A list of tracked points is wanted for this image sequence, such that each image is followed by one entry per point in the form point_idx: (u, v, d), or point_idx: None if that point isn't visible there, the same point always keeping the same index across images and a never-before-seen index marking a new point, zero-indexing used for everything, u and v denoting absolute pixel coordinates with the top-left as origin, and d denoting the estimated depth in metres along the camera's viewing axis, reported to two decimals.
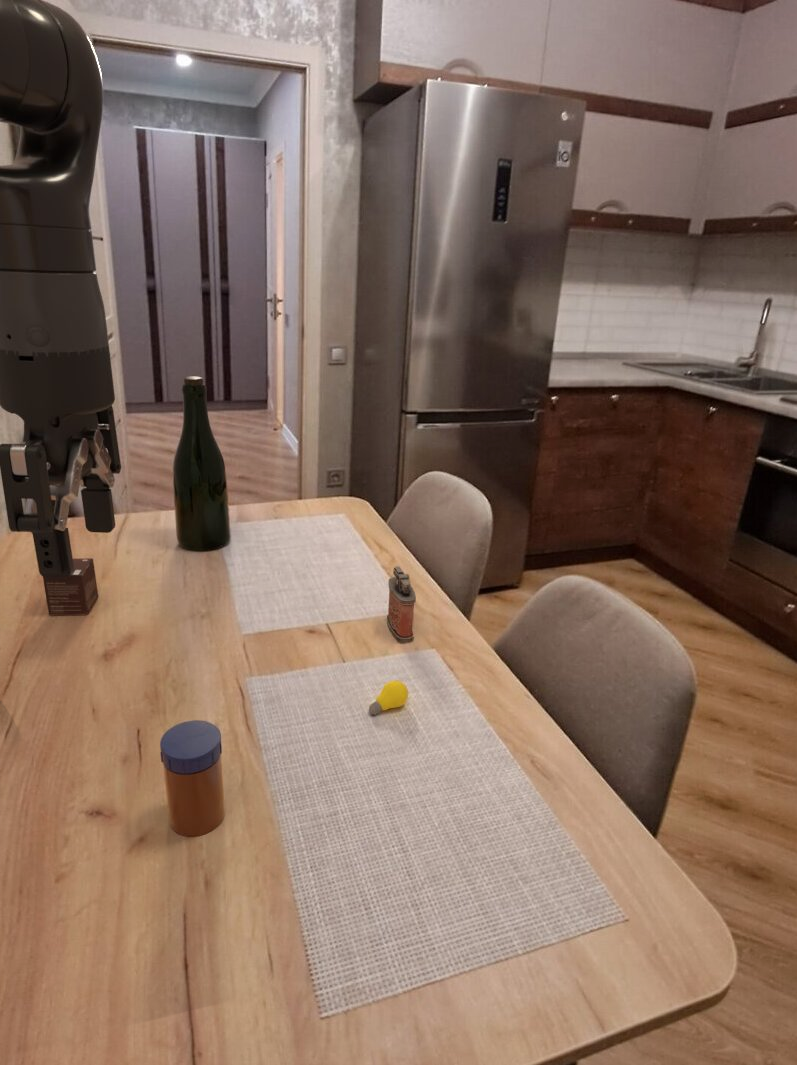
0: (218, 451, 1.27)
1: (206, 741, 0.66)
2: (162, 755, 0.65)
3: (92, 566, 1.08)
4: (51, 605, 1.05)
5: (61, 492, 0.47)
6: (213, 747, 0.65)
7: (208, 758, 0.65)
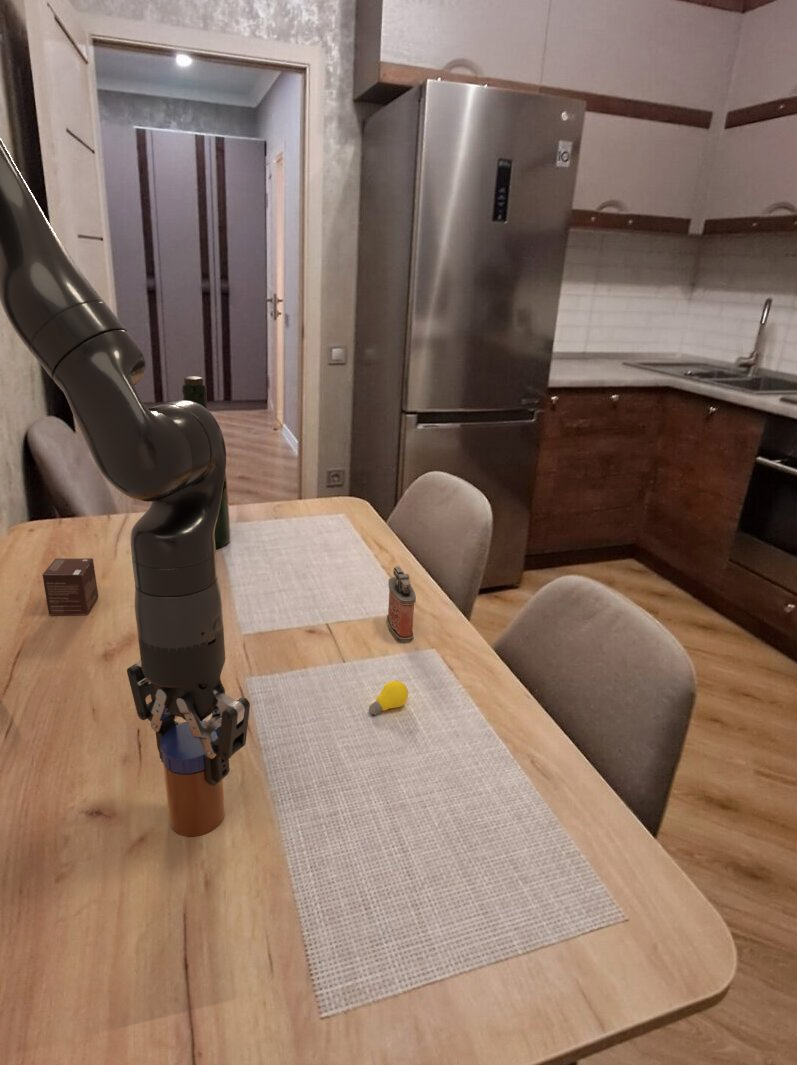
0: None
1: None
2: (162, 755, 0.65)
3: (92, 566, 1.08)
4: (51, 605, 1.05)
5: None
6: None
7: None
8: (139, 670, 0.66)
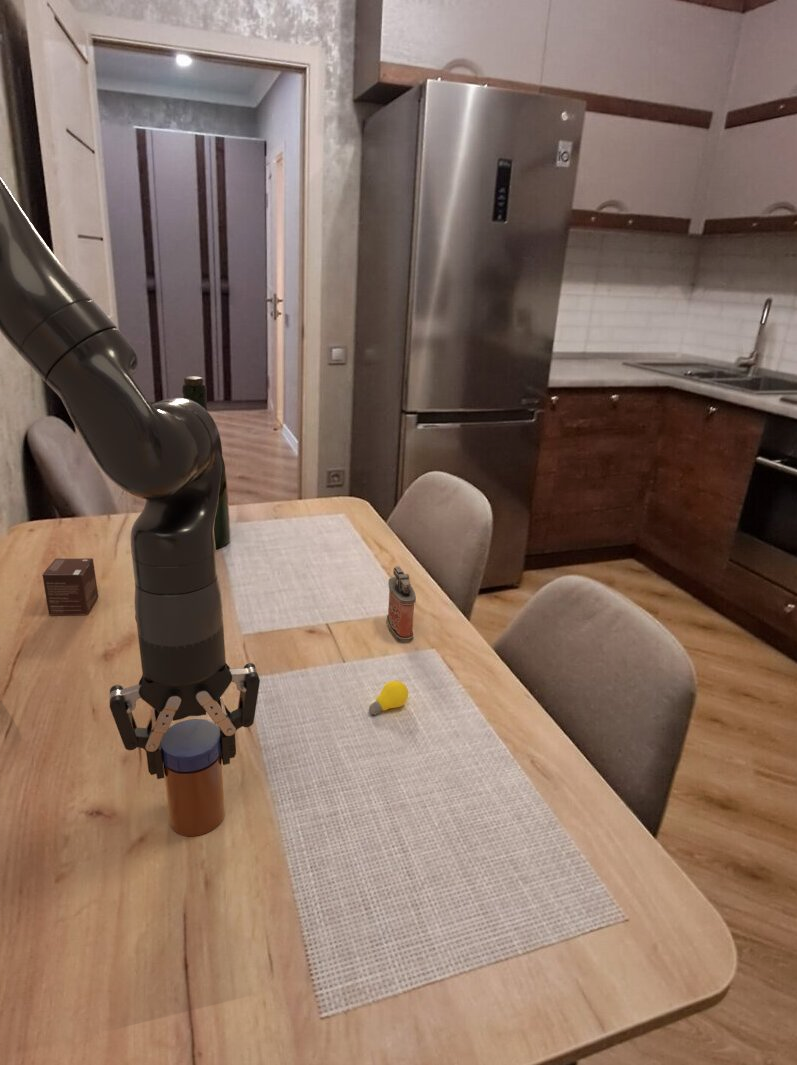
0: None
1: (206, 730, 0.67)
2: (181, 762, 0.64)
3: (92, 566, 1.08)
4: (51, 605, 1.05)
5: (222, 700, 0.67)
6: (218, 730, 0.67)
7: None
8: (122, 698, 0.61)
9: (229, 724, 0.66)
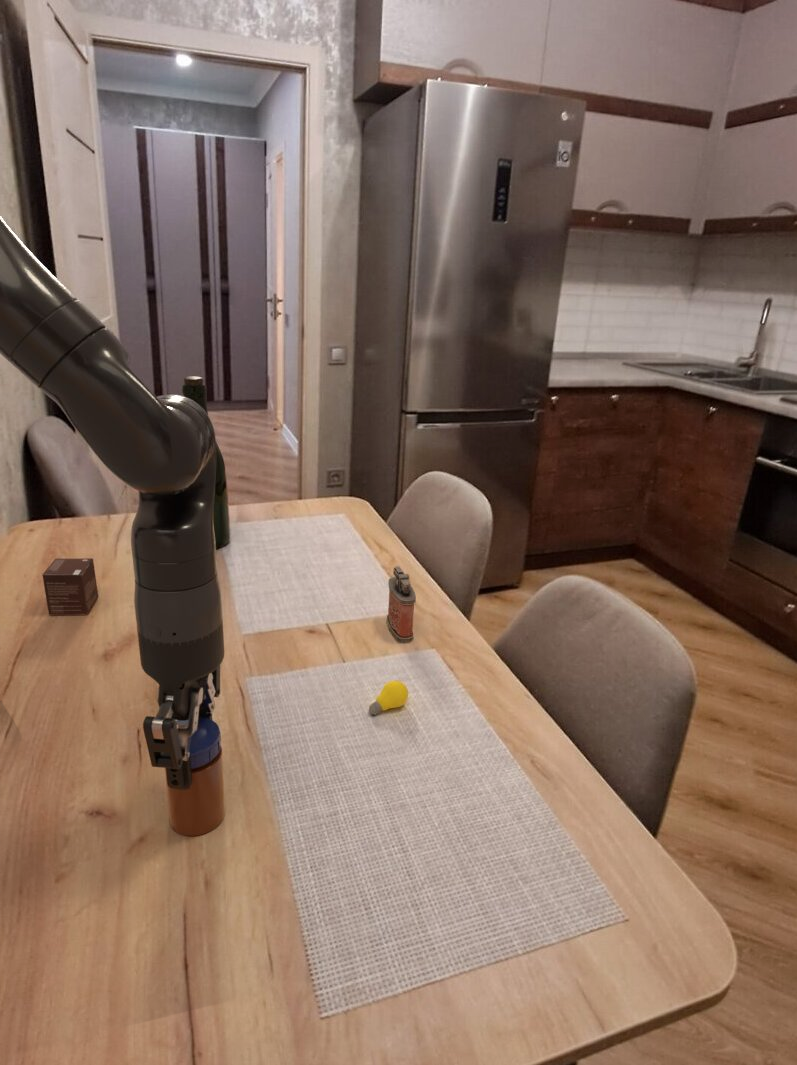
0: (218, 451, 1.27)
1: None
2: (212, 750, 0.65)
3: (92, 566, 1.08)
4: (51, 605, 1.05)
5: None
6: None
7: None
8: None
9: (212, 700, 0.69)
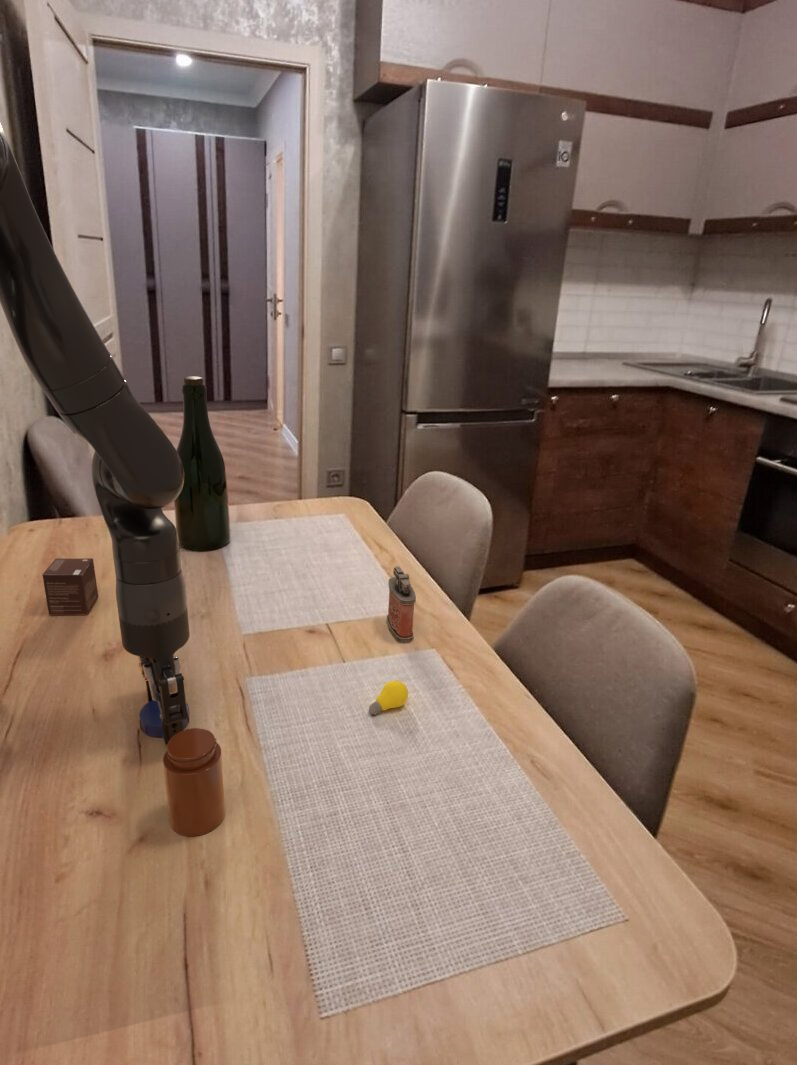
0: (218, 451, 1.27)
1: (156, 704, 0.84)
2: (188, 713, 0.83)
3: (92, 566, 1.08)
4: (51, 605, 1.05)
5: None
6: None
7: None
8: None
9: None
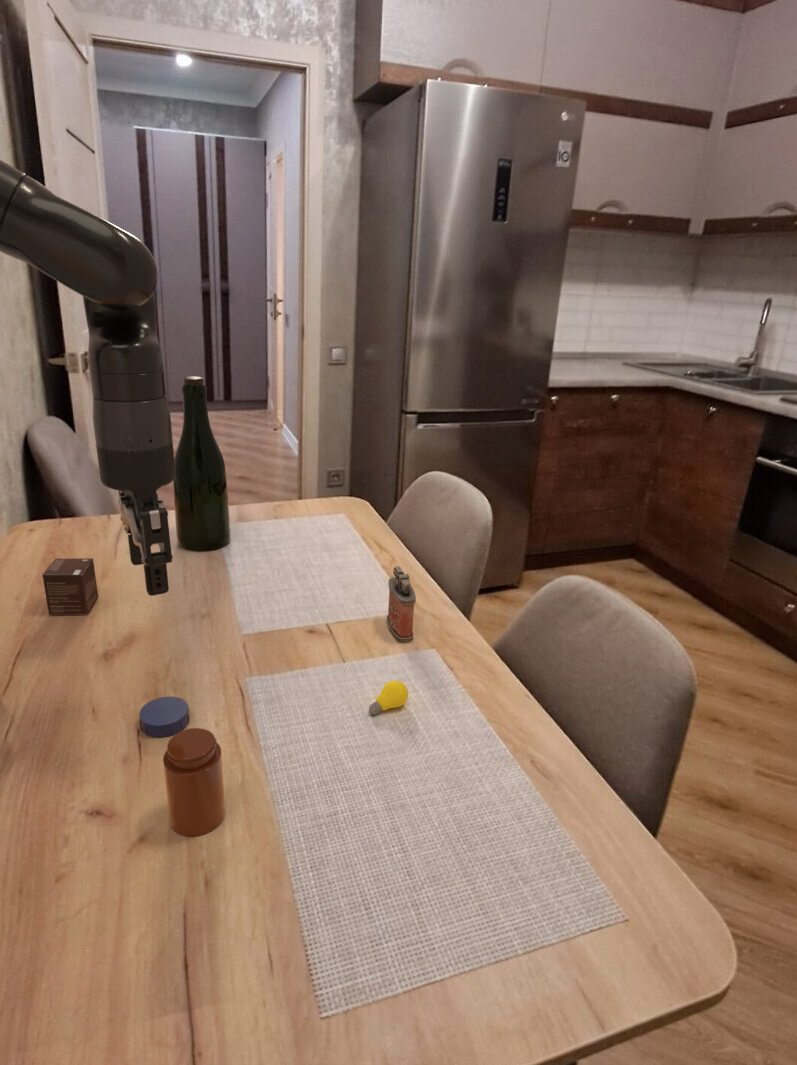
0: (218, 451, 1.27)
1: (156, 704, 0.84)
2: (188, 713, 0.83)
3: (92, 566, 1.08)
4: (51, 605, 1.05)
5: None
6: (157, 699, 0.85)
7: None
8: None
9: None
